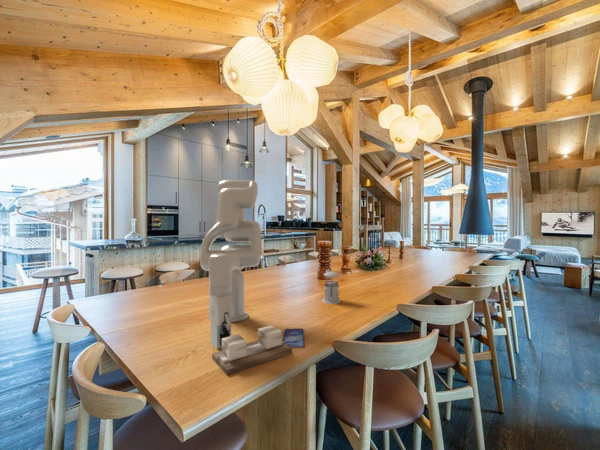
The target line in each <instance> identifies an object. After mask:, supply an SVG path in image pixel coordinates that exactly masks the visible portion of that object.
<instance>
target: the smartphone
mask: <svg viewBox="0 0 600 450" xmlns="http://www.w3.org/2000/svg"><path fill="white" fill-rule="evenodd" d="M304 335H305V333H304V328H286V329H285V328H284V333H283V338H282V339H283V340H282V341H283V342H284V344H286V345H287V346H289V347H290V348H293V349H298V348H299V349H302V348H305V344H304V343H305V342H304V341H305V340H304V337H305V336H304Z"/></svg>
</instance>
